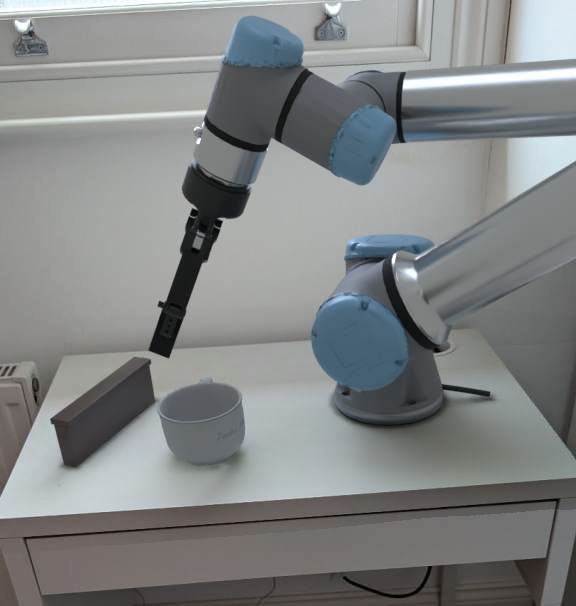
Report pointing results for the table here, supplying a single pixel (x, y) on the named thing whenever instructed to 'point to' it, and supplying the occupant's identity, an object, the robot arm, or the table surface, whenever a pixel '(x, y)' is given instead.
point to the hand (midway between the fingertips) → (168, 326)
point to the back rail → (103, 410)
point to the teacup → (203, 421)
